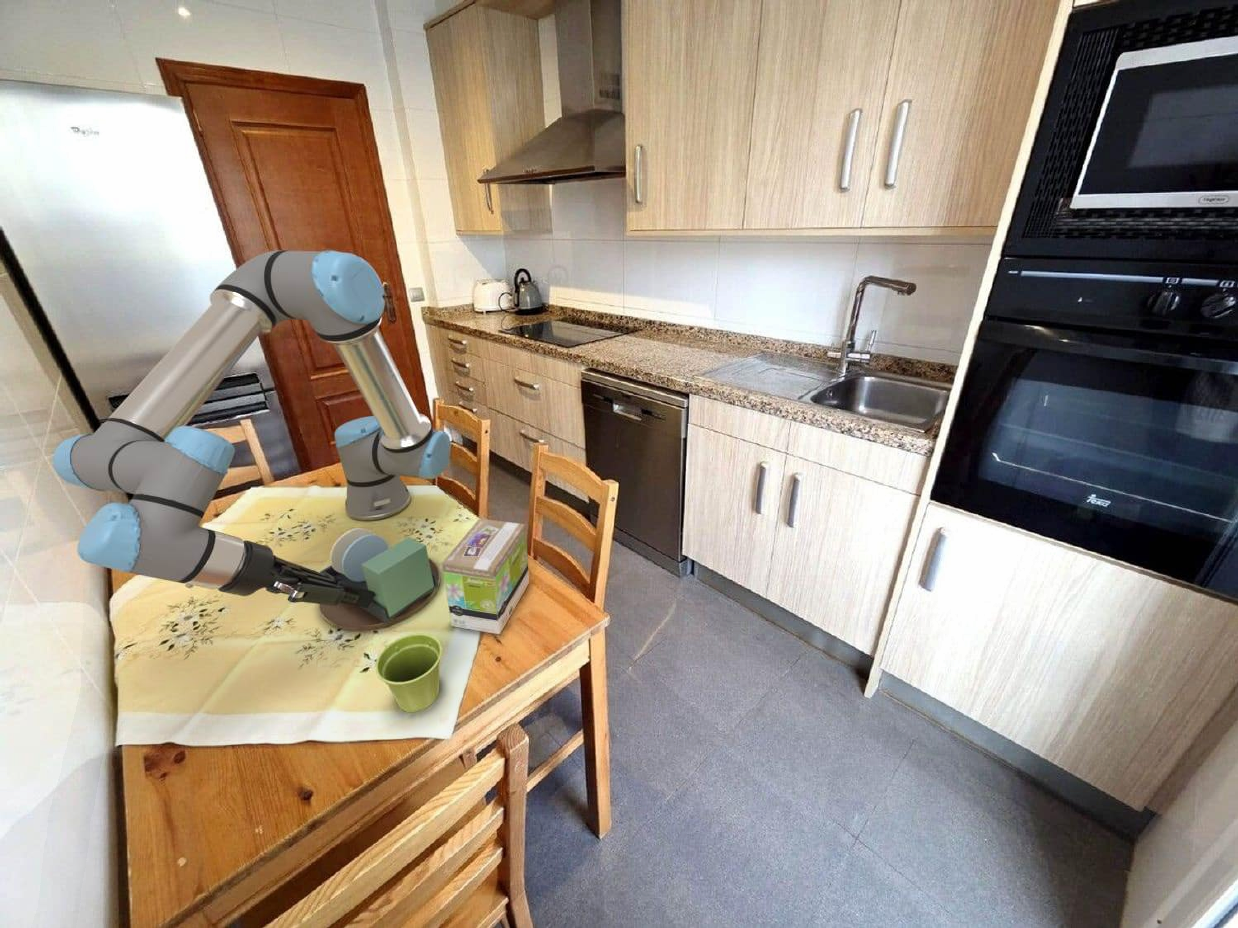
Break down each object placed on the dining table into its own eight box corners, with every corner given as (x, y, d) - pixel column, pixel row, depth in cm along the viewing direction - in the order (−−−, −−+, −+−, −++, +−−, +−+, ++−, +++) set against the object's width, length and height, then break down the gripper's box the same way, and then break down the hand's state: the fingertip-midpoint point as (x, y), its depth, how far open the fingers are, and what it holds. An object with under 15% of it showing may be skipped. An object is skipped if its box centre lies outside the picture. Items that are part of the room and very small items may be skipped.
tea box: (502, 636, 90) (493, 571, 84) (450, 627, 92) (438, 563, 85) (531, 582, 103) (525, 521, 97) (486, 575, 105) (477, 516, 98)
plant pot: (462, 683, 81) (455, 644, 77) (420, 732, 74) (409, 692, 70) (418, 664, 85) (409, 625, 81) (373, 709, 77) (360, 669, 73)
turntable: (378, 548, 113) (377, 544, 113) (461, 568, 107) (460, 564, 107) (293, 614, 95) (291, 610, 94) (388, 644, 88) (387, 639, 88)
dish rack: (324, 584, 101) (309, 539, 96) (377, 553, 110) (366, 511, 105) (385, 624, 91) (372, 577, 86) (439, 586, 100) (430, 542, 95)
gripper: (201, 570, 74) (342, 602, 93) (227, 608, 67) (375, 636, 85) (232, 525, 76) (365, 566, 94) (261, 558, 68) (399, 595, 87)
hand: (369, 599), depth 90 cm, fingers closed
